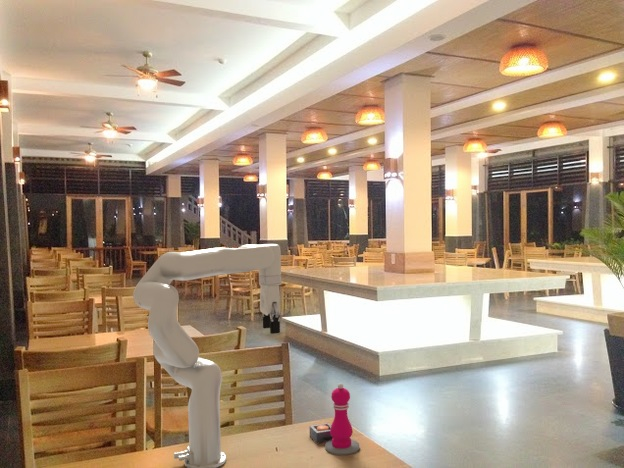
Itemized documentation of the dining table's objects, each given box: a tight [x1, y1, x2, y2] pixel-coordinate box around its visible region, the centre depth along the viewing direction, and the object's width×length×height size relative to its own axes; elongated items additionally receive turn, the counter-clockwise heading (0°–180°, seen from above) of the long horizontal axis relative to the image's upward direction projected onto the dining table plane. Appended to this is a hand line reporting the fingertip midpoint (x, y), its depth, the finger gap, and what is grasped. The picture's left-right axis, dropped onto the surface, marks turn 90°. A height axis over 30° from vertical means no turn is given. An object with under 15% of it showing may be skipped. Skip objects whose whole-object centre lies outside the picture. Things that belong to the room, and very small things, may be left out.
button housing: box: [309, 422, 333, 444], centre depth 191 cm, size 7×7×4 cm
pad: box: [324, 438, 360, 456], centre depth 183 cm, size 11×11×1 cm
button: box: [317, 425, 329, 431], centre depth 191 cm, size 4×4×2 cm
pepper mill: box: [330, 382, 353, 449], centre depth 182 cm, size 7×7×20 cm
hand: (271, 330), depth 192 cm, fingers open, 9 cm apart
